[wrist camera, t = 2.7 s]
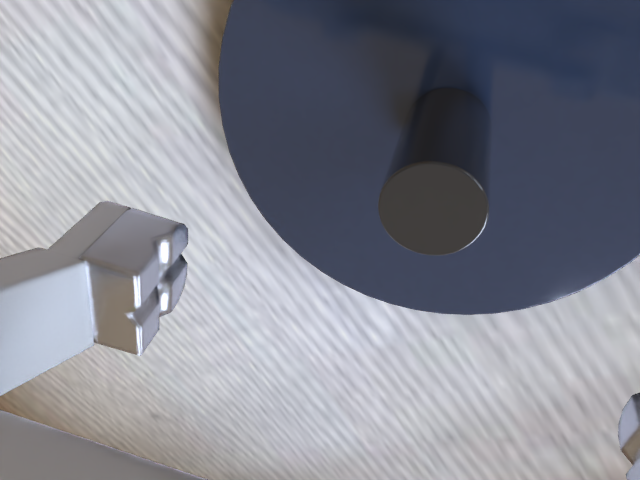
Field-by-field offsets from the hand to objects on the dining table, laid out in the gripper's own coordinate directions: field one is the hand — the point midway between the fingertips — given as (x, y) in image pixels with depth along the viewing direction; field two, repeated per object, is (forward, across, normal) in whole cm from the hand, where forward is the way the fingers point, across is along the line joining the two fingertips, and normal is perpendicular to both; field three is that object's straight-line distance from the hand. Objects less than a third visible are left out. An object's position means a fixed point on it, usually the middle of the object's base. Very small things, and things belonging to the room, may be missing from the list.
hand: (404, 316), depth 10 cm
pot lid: (+8, 0, 0) cm, 8 cm away
